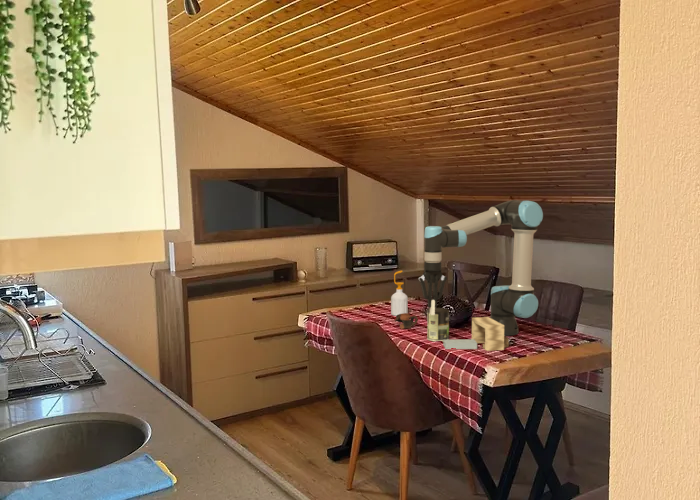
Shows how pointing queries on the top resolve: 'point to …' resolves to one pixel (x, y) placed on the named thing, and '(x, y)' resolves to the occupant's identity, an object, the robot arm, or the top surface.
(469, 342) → the grey flat block
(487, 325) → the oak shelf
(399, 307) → the soap bottle
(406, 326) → the pottery mug
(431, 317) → the coffee can
